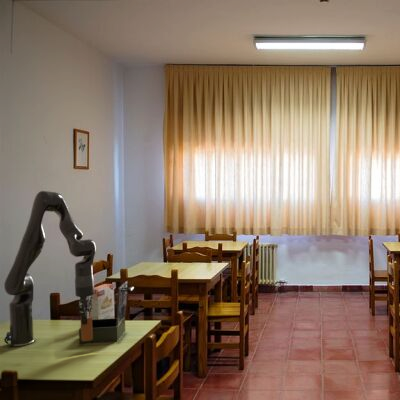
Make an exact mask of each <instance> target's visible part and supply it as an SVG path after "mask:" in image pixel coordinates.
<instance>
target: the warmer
mask: <svg viewBox="0 0 400 400" xmlns="http://www.w3.org/2000/svg"><path fill="white" fill-rule="evenodd" d="M116 318H117V317H114V318H110V319H95V320H92V331H93V339H92V340H90V341H82V340H81V327H79V329H78V340H79V342H78V343H79V345H91V344H102V343H118V342H119V341H120V339H121V338H122V337H123V336H124V334H125V332H126V317H125V318H124V319H123V320H122V321H121V323H120V324H119V325H118V326H116Z"/></svg>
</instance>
